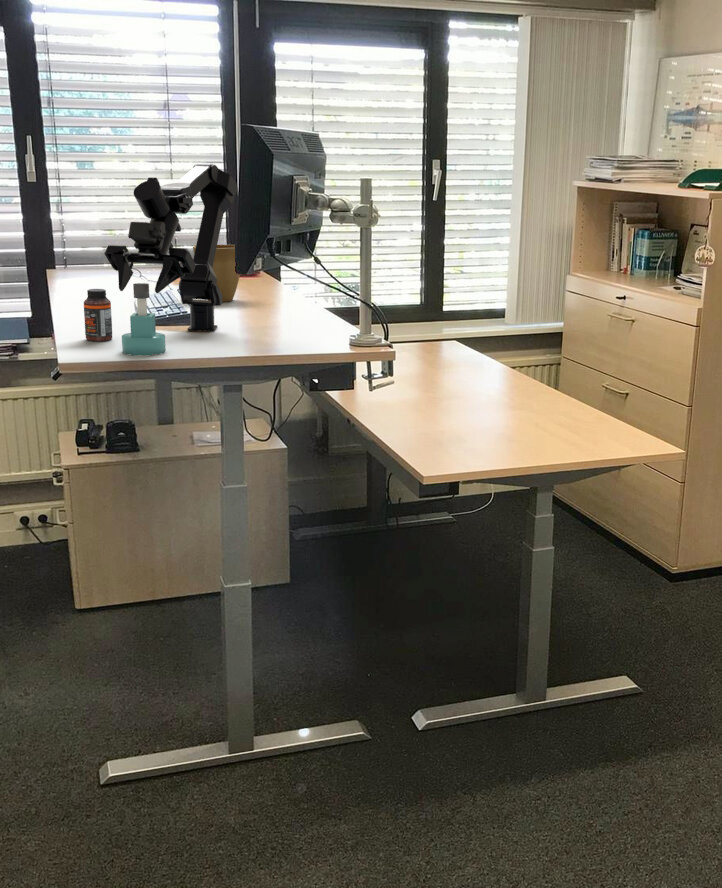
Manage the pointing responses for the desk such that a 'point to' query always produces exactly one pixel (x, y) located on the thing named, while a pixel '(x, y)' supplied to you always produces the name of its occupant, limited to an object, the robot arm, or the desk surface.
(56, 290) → the desk surface
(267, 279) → the desk surface
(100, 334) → the supplement bottle
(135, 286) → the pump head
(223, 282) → the plant pot
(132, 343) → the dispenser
